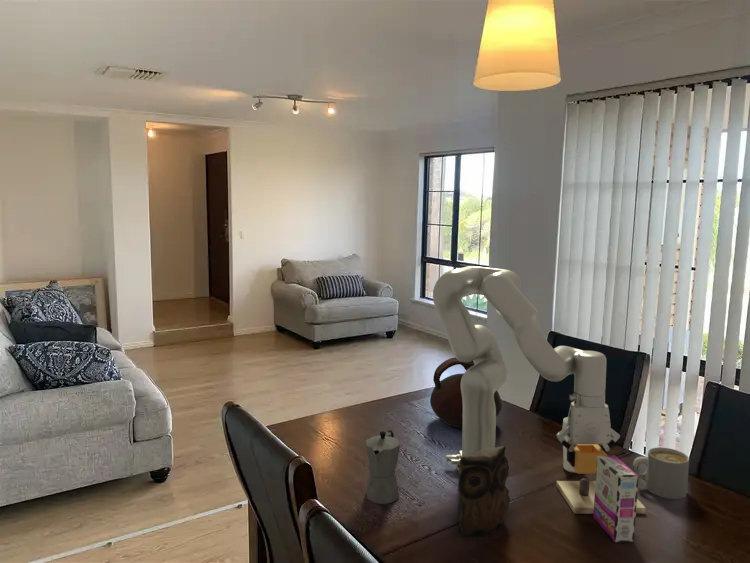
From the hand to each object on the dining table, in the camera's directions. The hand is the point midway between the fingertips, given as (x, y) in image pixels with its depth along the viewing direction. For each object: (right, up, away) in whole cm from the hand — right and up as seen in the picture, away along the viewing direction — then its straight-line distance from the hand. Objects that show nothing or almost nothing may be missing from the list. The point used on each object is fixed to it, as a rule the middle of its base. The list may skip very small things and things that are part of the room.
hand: (586, 463), depth 148 cm
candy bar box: (+2, -12, -12) cm, 17 cm away
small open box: (0, -1, 0) cm, 1 cm away
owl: (-30, -12, -9) cm, 34 cm away
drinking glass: (+3, -8, +18) cm, 20 cm away
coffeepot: (-53, -10, +5) cm, 54 cm away
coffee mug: (+23, -9, +8) cm, 26 cm away
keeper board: (+4, -10, +2) cm, 11 cm away
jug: (-23, -3, +54) cm, 59 cm away
